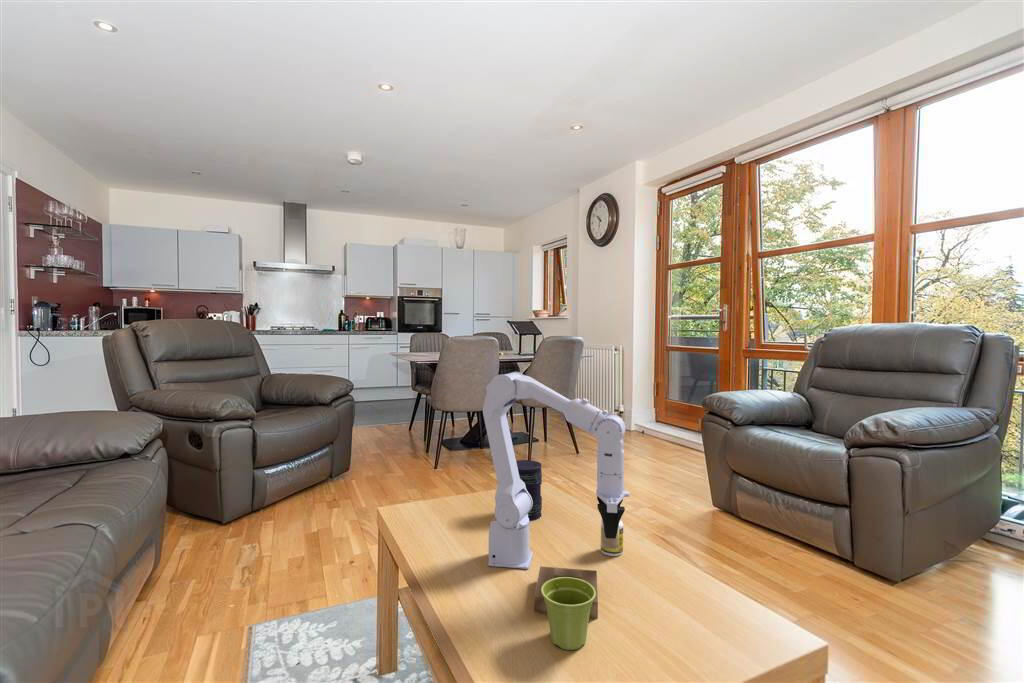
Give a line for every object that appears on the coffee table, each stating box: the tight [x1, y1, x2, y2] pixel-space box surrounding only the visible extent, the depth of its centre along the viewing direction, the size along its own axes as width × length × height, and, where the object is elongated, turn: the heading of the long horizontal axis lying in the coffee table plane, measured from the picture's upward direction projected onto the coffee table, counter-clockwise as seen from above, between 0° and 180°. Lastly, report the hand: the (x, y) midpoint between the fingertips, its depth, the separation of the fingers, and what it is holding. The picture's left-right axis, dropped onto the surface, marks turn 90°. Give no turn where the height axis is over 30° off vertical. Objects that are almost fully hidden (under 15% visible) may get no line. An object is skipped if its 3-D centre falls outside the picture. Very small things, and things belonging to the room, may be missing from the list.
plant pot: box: [541, 577, 596, 651], centre depth 83 cm, size 9×9×9 cm
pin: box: [601, 519, 619, 549], centre depth 103 cm, size 4×4×8 cm
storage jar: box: [516, 459, 543, 522], centre depth 139 cm, size 10×10×15 cm
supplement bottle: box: [600, 519, 624, 557], centre depth 116 cm, size 5×5×10 cm
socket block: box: [533, 565, 599, 619], centre depth 96 cm, size 12×12×3 cm
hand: (610, 533), depth 103 cm, fingers closed on pin, 4 cm apart
